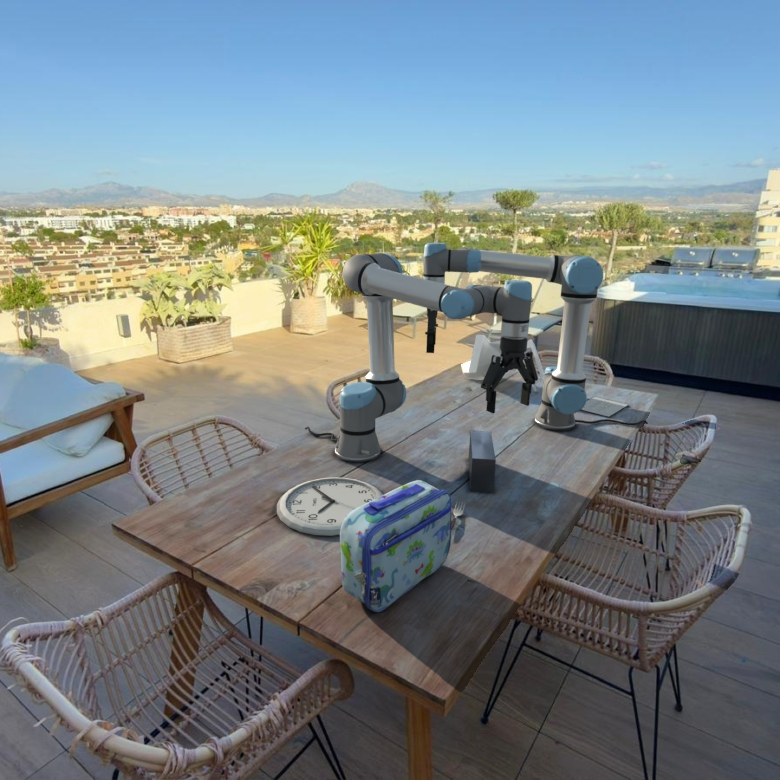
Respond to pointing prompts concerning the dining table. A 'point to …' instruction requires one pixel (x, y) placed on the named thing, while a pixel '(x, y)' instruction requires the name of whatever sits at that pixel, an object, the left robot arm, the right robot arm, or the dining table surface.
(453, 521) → the fork
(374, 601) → the lunch box
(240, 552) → the dining table surface
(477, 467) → the box
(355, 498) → the wall clock
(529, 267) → the right robot arm
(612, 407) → the invitation card
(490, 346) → the white plastic object
